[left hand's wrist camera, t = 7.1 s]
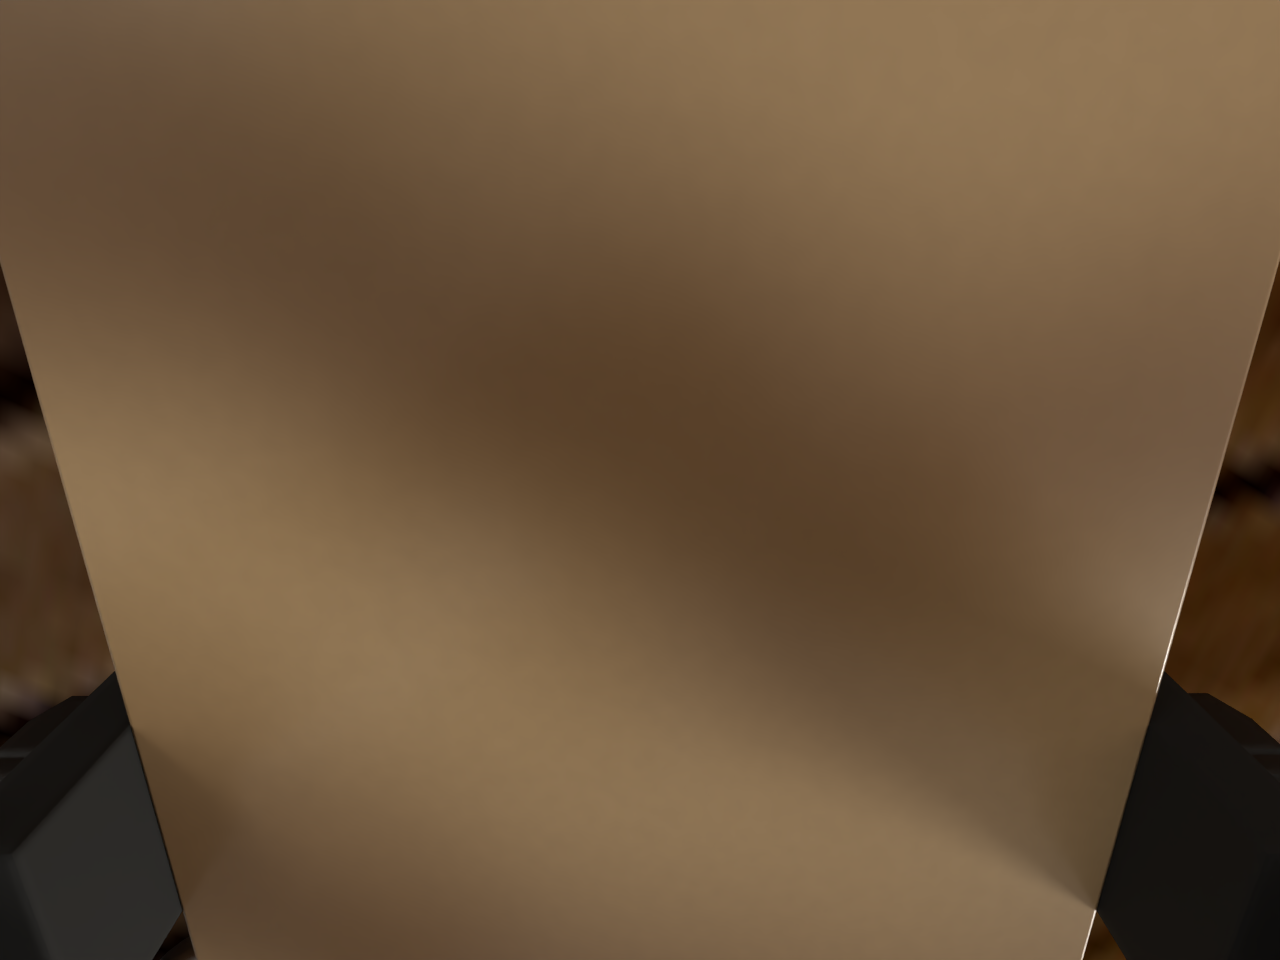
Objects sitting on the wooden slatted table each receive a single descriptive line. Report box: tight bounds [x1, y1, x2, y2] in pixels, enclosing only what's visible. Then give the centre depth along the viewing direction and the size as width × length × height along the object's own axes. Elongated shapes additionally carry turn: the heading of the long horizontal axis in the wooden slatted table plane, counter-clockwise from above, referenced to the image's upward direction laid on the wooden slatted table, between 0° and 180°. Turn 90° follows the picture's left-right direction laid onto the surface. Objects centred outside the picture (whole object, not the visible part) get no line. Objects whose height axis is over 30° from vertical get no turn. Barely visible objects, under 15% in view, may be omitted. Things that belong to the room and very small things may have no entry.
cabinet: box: [0, 0, 1280, 960], centre depth 12 cm, size 19×11×11 cm, turn 0°
